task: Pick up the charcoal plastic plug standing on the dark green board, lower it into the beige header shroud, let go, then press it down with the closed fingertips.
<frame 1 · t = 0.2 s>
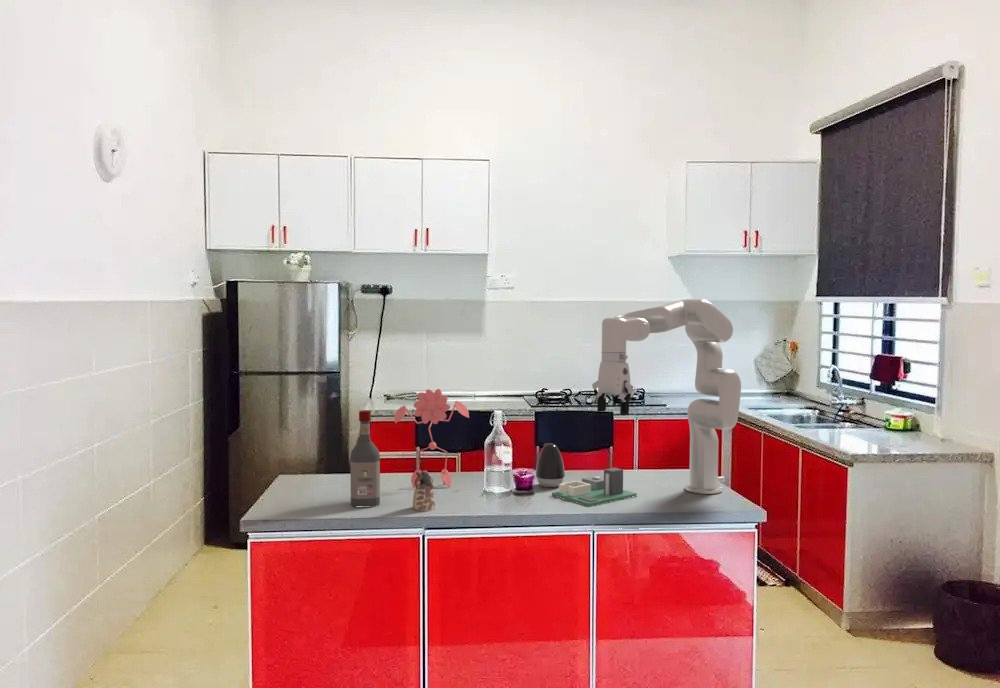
hand: (612, 412, 250), 31 cm above the countertop, tool pointing down, fingers open, 9 cm apart
figurine 2: (431, 489, 278), on the countertop
board: (594, 496, 270), on the countertop
grey flat block: (596, 489, 279), resting on board
dark egg-shaped speaker: (550, 486, 284), on the countertop
header: (575, 495, 270), resting on board
plug: (613, 493, 269), point 1 cm above the countertop, touching board
liquor: (365, 504, 258), on the countertop
figurine: (424, 509, 253), on the countertop
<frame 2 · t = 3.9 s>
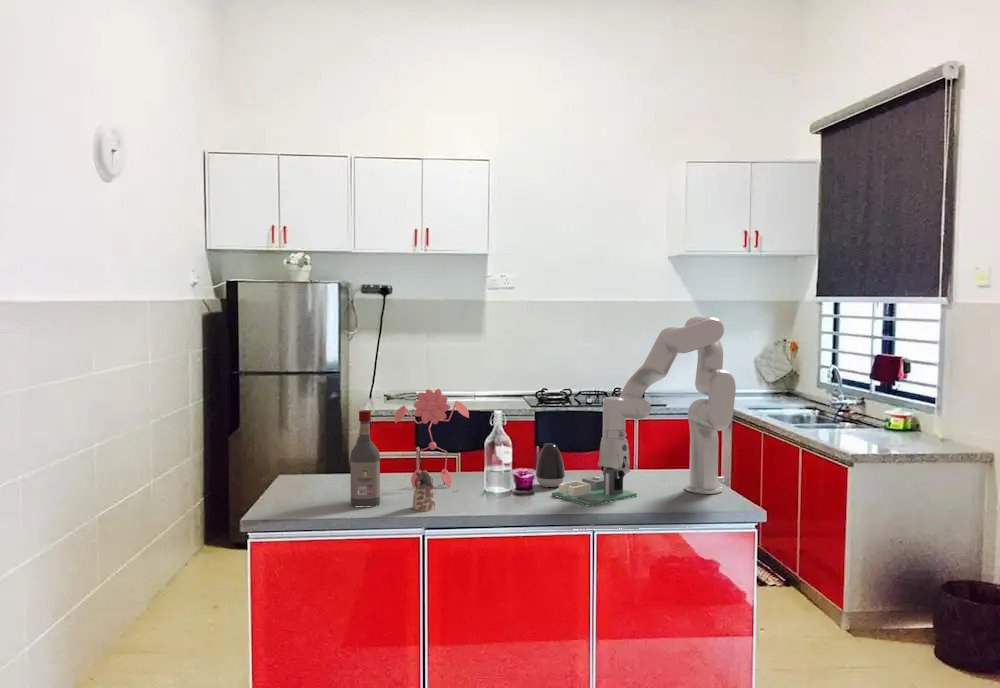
hand: (613, 487, 269), 3 cm above the countertop, tool pointing down, fingers closed on plug, 4 cm apart
plug: (613, 493, 269), point 1 cm above the countertop, touching board, gripper
everything else where it was.
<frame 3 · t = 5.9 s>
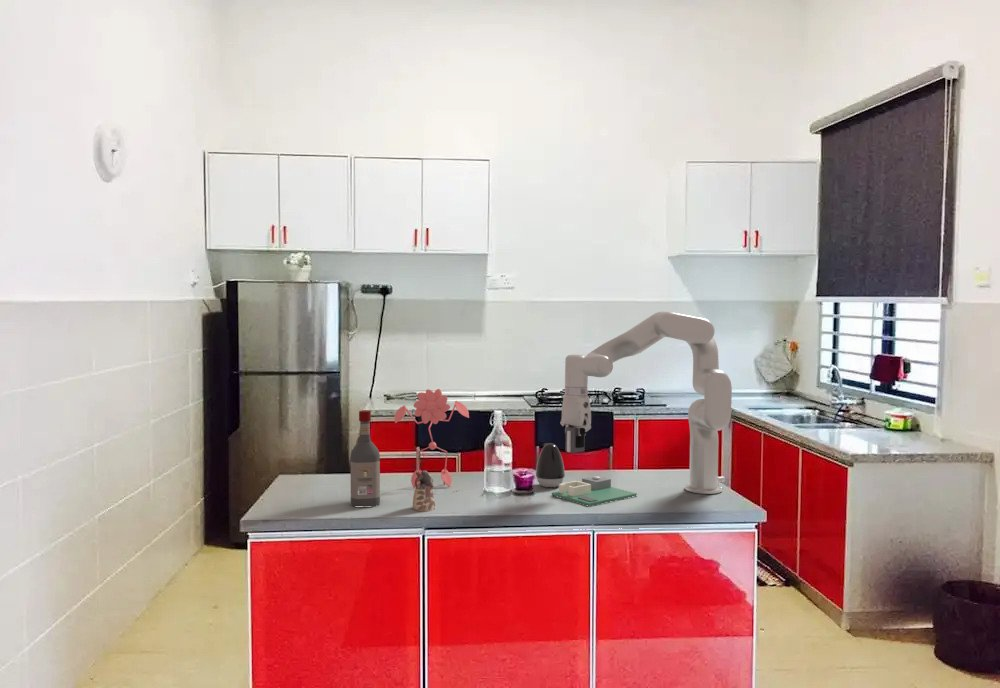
hand: (575, 445, 269), 17 cm above the countertop, tool pointing down, fingers closed on plug, 4 cm apart
plug: (574, 451, 269), point 15 cm above the countertop, touching gripper
everything else where it was.
when the fingers open (4 cm above the countertop, at t = 7.9 s): plug drops 1 cm, resting on board.
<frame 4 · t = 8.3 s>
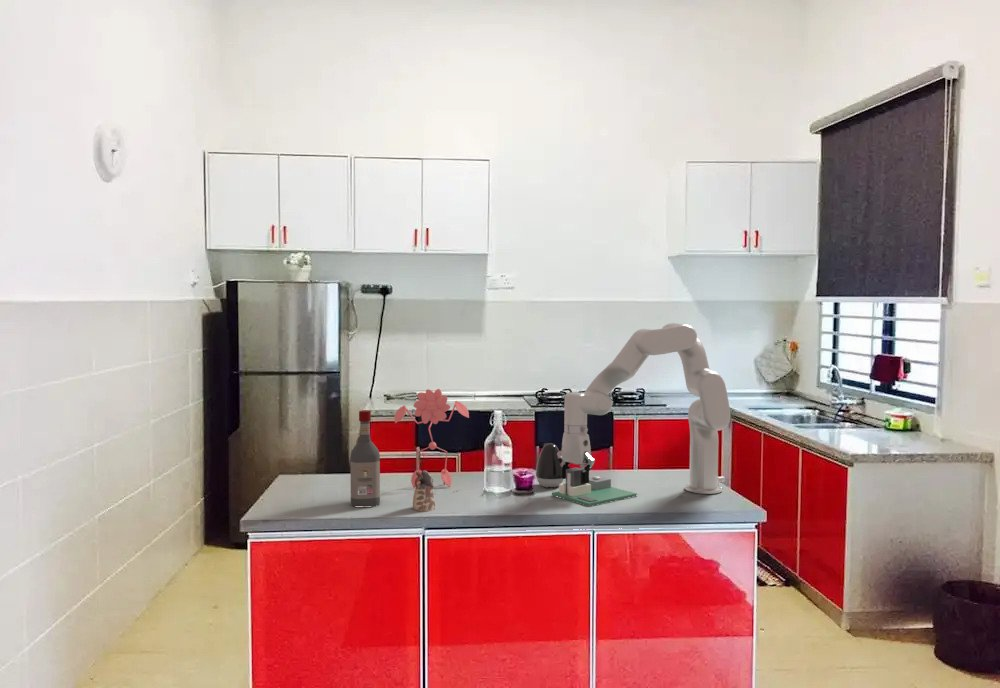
hand: (575, 480, 269), 5 cm above the countertop, tool pointing down, fingers open, 8 cm apart
plug: (575, 492, 270), point 1 cm above the countertop, touching board
everything else where it was.
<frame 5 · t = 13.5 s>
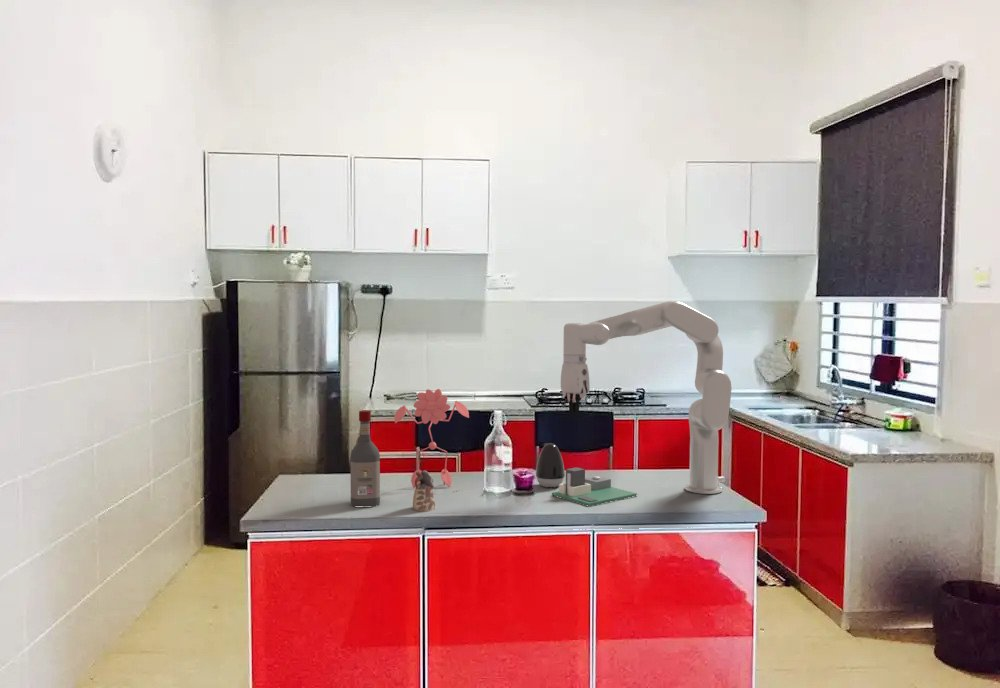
hand: (574, 413, 273), 27 cm above the countertop, tool pointing down, fingers closed
nothing on the countertop moved.
at the end: plug 0.0 cm off-centre on the header, point 1.0 cm above the header's base; plug tilted 0°; the gripper is holding nothing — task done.
